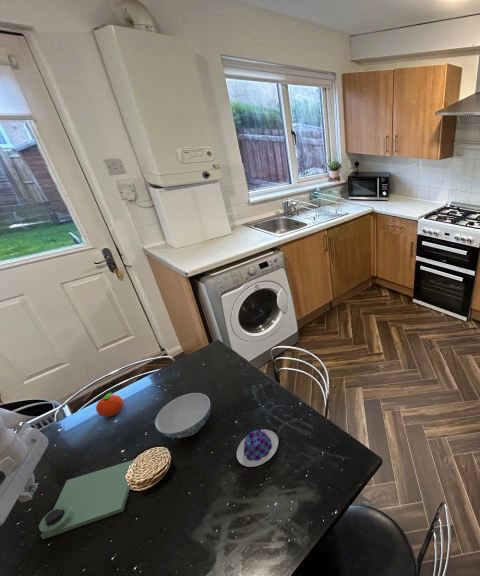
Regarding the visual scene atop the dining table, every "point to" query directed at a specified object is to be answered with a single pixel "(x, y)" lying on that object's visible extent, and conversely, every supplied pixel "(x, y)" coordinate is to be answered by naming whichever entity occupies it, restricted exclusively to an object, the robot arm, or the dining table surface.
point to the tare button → (54, 516)
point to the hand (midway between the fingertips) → (30, 494)
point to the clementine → (109, 405)
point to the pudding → (257, 448)
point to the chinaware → (183, 415)
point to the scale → (90, 499)
